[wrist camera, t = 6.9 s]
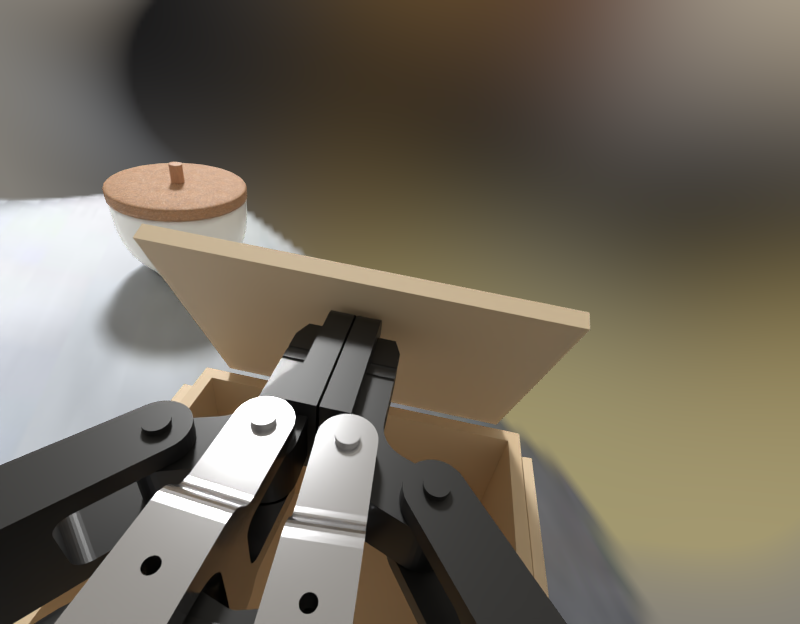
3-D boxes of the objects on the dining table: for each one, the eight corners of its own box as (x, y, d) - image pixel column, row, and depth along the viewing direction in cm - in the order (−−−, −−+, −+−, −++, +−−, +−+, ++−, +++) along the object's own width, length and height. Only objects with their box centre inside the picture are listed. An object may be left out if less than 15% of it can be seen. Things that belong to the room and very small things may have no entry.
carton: (12, 821, 13) (-139, 775, 9) (215, 471, 24) (196, 365, 19) (488, 946, 13) (599, 969, 8) (483, 530, 23) (530, 436, 18)
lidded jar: (132, 240, 42) (107, 141, 36) (247, 236, 46) (240, 146, 40) (116, 301, 34) (82, 187, 29) (257, 291, 38) (250, 188, 32)
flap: (229, 367, 19) (132, 237, 11) (234, 357, 19) (142, 223, 11) (496, 424, 18) (590, 329, 11) (497, 413, 19) (590, 312, 11)
